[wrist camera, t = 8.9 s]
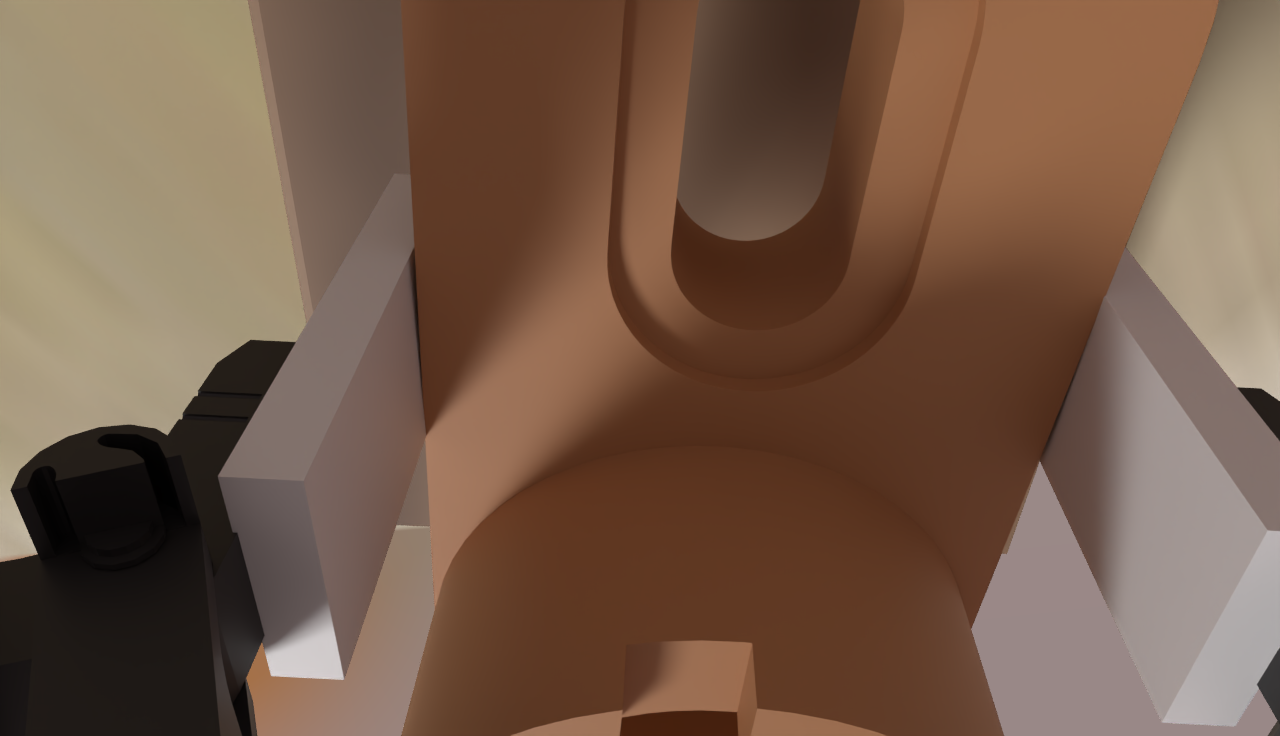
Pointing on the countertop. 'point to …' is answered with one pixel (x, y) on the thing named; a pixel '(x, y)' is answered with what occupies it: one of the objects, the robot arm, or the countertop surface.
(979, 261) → the bracket
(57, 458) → the robot arm
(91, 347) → the countertop surface
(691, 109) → the cradle
